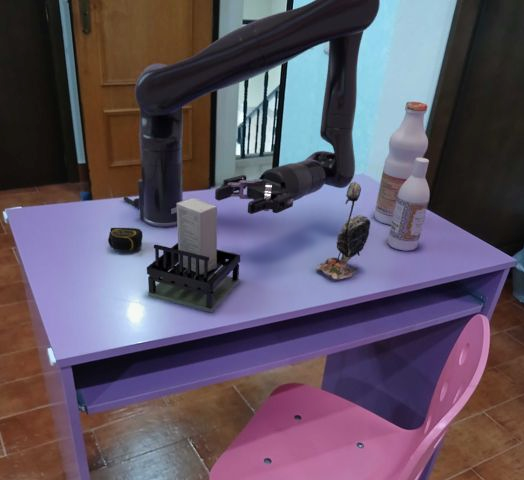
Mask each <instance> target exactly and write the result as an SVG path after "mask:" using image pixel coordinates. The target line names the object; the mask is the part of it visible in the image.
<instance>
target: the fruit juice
mask: <svg viewBox="0 0 524 480" xmlns="http://www.w3.org/2000/svg"><path fill="white" fill-rule="evenodd" d="M404 111H405V114H404V117H403V119H402V122H401V124H400V125H399V126H398V128H397V129H395V130H394V131H393V133H392V134H391V135H390V138H389V141H388V154H387V157H386V158H385V159H384V160H385V161H384V164H383V168H382V173H381V178H380V183H379V188H378V192H377V199H376V202H375V203H376V204H375V209H374V218H375V220H376V221H378V222H379V223H381V224H384V225H389V226H391V223H392V219H393V214H394V210H395V205H396V201H397V196H398V193H399V190H400V188H401V186H402V185H403V184H404V182H405V181H406V180H407V179H408V178H409V177H410V176H411V175H412V172H413V167H414V163H415V159H416V158H424V157H425V154H426V153H427V151H428V147H429V139H428V136H427V134H426V131H425V125H424V119H425V118H424V117H425V114H426V113H427V111H428V105H427V104H426V103H425V102H420V101H407V102H406V104H405V107H404Z"/></svg>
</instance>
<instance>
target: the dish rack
mask: <svg viewBox="0 0 524 480" xmlns="http://www.w3.org/2000/svg"><path fill="white" fill-rule="evenodd" d="M153 249H154V255H155V257H154V258H155V260H154V261H152V263H150V264H149V265H147V266H146V275H148V277H147V283H148V293H147V296H148V297H150V298H154V299H158V300H162V301H165V302H168V303H173V304H176V305H180V306H183V307H187V308H190V309H191V308H192V309H195V310H199V311H202V312H206V313H210V314H212V313H213V312H214V311H215V310H216V309H217V307H219V305H220V304H221V303H222V302H223V301H225V299H226V298H227V297H228V295H229V294H230V293H232V291H233V290H234V289H235V288H236V286H237V285H238V284H240V275H239V274H240V264H239V263H240V262H241V257H242V256H241V254H238V253H234V252H229V251H226V250H220V249H217V267H216V268H215V269H213V270H211V271H209V272H208V261H209V257H206V256H202V255H198V254H194V253H190V252H185V251H181V250H179V249H178V242H177V243H175V244H174V245H173V246H172V247H168V246H164V245H161V244H154V245H153ZM160 251H162V254H161V256H160ZM183 256H188V269H187V268H185V267H183ZM191 257H192V258H196V272H194V271H192V270H191ZM199 259H200V260H204V274H202V275H201V274H199ZM179 263H180V265H179ZM231 273H232V276H229V274H231ZM156 283H157V284H156Z"/></svg>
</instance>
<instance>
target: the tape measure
mask: <svg viewBox="0 0 524 480" xmlns="http://www.w3.org/2000/svg"><path fill="white" fill-rule="evenodd" d="M142 241H143V230H141V229H140V228H135V227H111V228H110V231H109V234H108V238H107V243H108V244H109V246H110V247H111V249H113V250H115V251H120V252H132V251H135V250H139V248H141V247H142V243H143V242H142Z"/></svg>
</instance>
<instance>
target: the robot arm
mask: <svg viewBox="0 0 524 480" xmlns="http://www.w3.org/2000/svg"><path fill="white" fill-rule="evenodd" d="M380 4H381V0H313V1H311V2H309V3H307V4H304V5H303V6H299V7H297V8H293V9H290V10H289V9H288V10H285V11H283V12H282V11H280V12H277V13H274V14H271V15H268V16H264V17H262V18H259V19H257V20H254V21H251V22H249V23H247V24H245V25H242V26H240V27H238V28H236V29H234V30H232V31H230V32H228V33H227V34H224V35H223V36H222V37H220V38H218V39H217V40H215V41H213V42H212V43H210V44H209V45H207V46H206V47H205V48H203V49H202V50H201V51H199V52H198V53H195V54H194V55H192V56H191V57H188V58H186V59H183V60H181V61H177V62H175V63H172V64H169V65H168V64H164V63H160V62H159V63H152V64H150V65H148V66H146V67H145V68H144V69H143V70H142V72H141V73H140V75H139V76H138V78H137V80H136V83H135V87H134V99H135V102H136V104H137V106H138V108H139V132H138V137H139V139H138V140H139V153H140V154H139V155H140V172H141V173H140V174H141V178H139V179H138V181H137V186H138V189H137V190H138V198H137V197H136V198H134V199H133V200H132V199H131V198H129V197H127V196H124V197H123V201H125V202H127V203H128V204H130V205H132V206H134V207H137V210H139V220H141V221H143V222H144V223H146V224H148V225H150V226H153V227H159V228H168V227H175V226H177V203H178V202H181V201H184V198H183V197H184V196H183V194H184V193H183V192H184V190H183V188H184V185H183V126H184V125H183V123H184V122H183V107H185V106H187V105H189V104H190V103H192V102H194V101H196V100H198V99H199V98H202V97H204V96H206V95H208V94H211V93H213V92H215V91H220V90H222V89H225V88H229V87H232V86H234V85H237V84H240V83H242V82H245V81H248V80H250V79H253V78H255V77H257V76H259V75H263V74H265V73H267V72H269V71H271V70H273V69H276V68H277V67H279V66H281V65H283V64H286V63H287V62H289V61H291V60H293V59H295V58H297V57H299V56H301V55H302V54H303V53H306V52H307V51H309V50H311V49H313V48H315V47H318V46H320V45H322V44H325V43H328V60H327V61H328V63H327V73H326V81H325V89H324V96H323V102H322V103H323V104H322V112H321V121H320V129H319V135H320V138H321V140H323V141H325V142H326V143H328V144H330V146H332V149H333V152H331V151H327V150H319V151H314V152H313V153H312V154H310V155H309V156H307V158H305V159H303V160H301V161H297V162H293V163H292V162H291V163H290V162H289V163H285V164H282V165H279V166H276V167H272V168H269V169H266V170H265V171H264V172H263V173H261V175H260V176H259V178H254V179H247V175H245V174H241V175H237V176H233V177H230V178H226V179H223V183H222V185H223V186H221V187H217V188H215V193H214V199H215V200H216V201H219V202H220V201H222V200H225V199H228V198H231V197H233V198H234V197H237V198H239V200H250V201H249V202H248V204H247V213H248V214H250V215H253V214H256V213H259V212H262V211H264V212H269V211H270V210H271V211H272V214H279V213H281V212H283V211H286V210H288V209H290V208H292V207H293V206H294V202H295V201H298V200H300V199H302V198H303V197H306V196H309V195H311V194H313V193H316V192H317V191H320V190H321V189H323V187H324V185H326V186H329V187H333V188H338V189H344V188H346V187H349V185H350V183H352V181H353V179H354V176H355V172H356V159H355V151H354V139H353V131H354V130H353V129H354V123H355V116H356V109H357V98H358V97H357V96H358V95H357V94H358V89H357V87H358V84H357V82H358V81H357V80H358V61H359V55H360V54H359V53H360V49H361V48H360V47H361V43H362V39H363V34H364V31H366V30H367V29H368V28H369V27H370V26H371V25H372V24H374V21H375V20H376V18H377V16H378V13H379V11H380ZM245 189H246V193H245V194H244V191H245Z"/></svg>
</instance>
